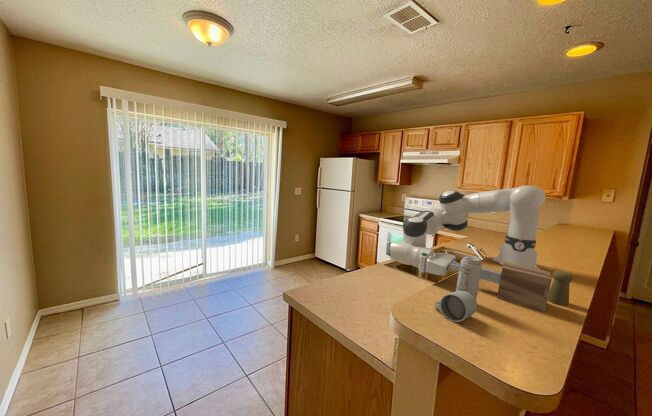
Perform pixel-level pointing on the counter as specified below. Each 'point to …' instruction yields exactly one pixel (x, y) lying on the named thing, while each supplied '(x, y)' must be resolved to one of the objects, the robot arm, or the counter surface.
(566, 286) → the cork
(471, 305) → the ceramic mug
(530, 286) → the block
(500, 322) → the counter surface
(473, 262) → the energy drink can
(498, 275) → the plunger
